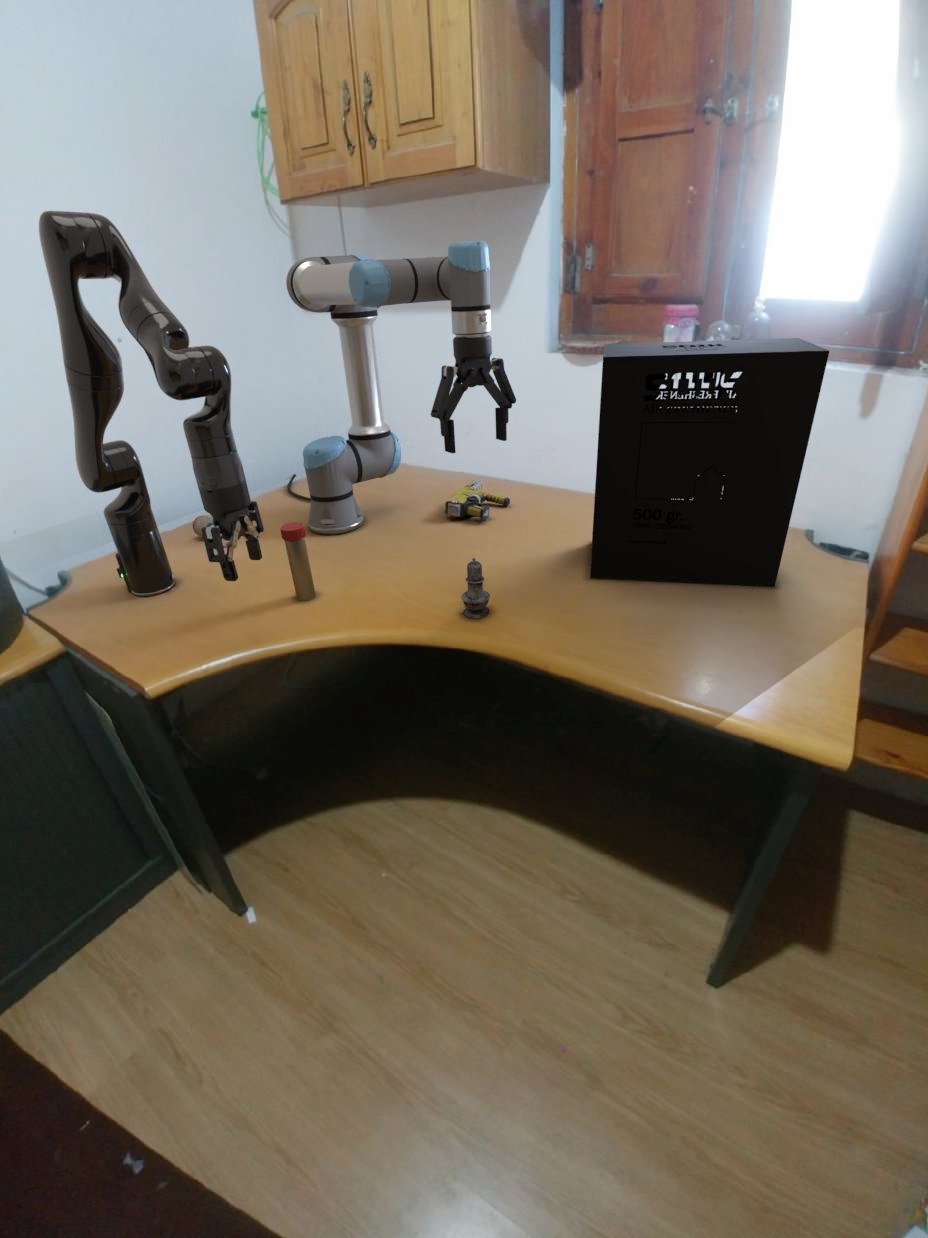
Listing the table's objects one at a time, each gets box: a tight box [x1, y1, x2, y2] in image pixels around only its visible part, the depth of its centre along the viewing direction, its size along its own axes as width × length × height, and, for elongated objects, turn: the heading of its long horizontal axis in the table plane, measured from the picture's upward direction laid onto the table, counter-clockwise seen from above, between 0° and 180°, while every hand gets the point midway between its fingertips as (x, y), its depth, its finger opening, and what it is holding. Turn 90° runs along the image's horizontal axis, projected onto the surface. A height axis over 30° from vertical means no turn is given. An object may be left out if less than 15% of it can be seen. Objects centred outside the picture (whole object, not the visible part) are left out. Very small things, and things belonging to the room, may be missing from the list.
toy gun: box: [444, 480, 511, 521], centre depth 175 cm, size 5×24×15 cm
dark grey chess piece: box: [460, 557, 491, 619], centre depth 119 cm, size 6×6×12 cm
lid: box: [279, 521, 307, 542], centre depth 125 cm, size 5×5×2 cm
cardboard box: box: [589, 337, 830, 587], centre depth 126 cm, size 38×20×45 cm, turn 78°
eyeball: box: [192, 514, 213, 538], centre depth 165 cm, size 6×6×6 cm
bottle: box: [283, 537, 317, 602], centre depth 128 cm, size 4×4×16 cm
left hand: (244, 569), depth 107 cm, fingers open, 8 cm apart
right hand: (476, 445), depth 127 cm, fingers open, 13 cm apart
